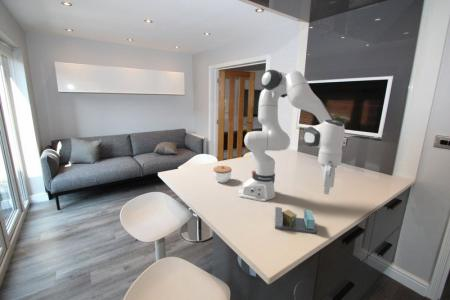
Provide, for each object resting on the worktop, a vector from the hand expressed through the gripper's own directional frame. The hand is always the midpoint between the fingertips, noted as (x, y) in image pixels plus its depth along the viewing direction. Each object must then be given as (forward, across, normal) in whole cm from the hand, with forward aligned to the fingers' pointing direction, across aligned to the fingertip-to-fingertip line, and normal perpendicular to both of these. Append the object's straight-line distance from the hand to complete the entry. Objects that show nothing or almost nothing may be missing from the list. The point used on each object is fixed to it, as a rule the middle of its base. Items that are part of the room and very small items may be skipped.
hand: (325, 189), depth 95 cm
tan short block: (+18, -2, +14) cm, 23 cm away
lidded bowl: (+19, +35, +63) cm, 75 cm away
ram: (+18, -1, +5) cm, 18 cm away
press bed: (+19, -2, +11) cm, 22 cm away
